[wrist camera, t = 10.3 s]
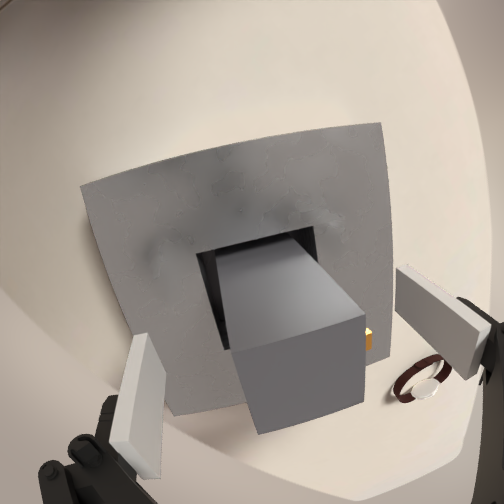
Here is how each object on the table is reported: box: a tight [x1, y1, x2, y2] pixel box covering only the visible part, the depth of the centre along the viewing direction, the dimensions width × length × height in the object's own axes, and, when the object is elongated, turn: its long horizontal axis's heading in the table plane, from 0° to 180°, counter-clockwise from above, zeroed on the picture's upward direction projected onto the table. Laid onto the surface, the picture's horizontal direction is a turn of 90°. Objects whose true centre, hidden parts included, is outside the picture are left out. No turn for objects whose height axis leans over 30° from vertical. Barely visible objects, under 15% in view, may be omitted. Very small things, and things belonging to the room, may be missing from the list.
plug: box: [214, 232, 366, 435], centre depth 17 cm, size 5×5×12 cm
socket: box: [80, 123, 393, 416], centre depth 21 cm, size 18×18×4 cm
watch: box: [393, 354, 452, 403], centre depth 29 cm, size 8×5×4 cm, turn 111°
